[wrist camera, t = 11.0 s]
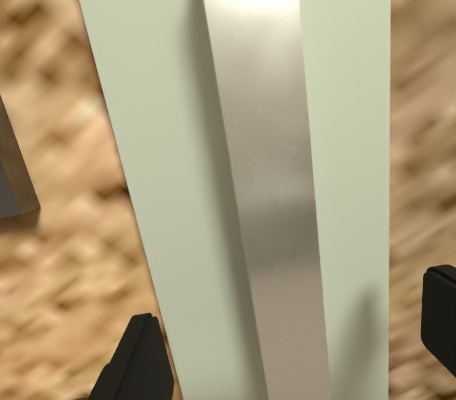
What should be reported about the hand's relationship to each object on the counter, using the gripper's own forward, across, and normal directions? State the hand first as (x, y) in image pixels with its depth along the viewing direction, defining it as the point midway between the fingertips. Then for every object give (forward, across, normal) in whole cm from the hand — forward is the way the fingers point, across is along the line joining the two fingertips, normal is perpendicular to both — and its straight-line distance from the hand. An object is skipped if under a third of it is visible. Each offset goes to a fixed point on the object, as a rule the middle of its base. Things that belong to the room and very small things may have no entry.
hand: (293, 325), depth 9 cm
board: (+3, 0, 0) cm, 3 cm away
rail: (+2, 0, 0) cm, 2 cm away
